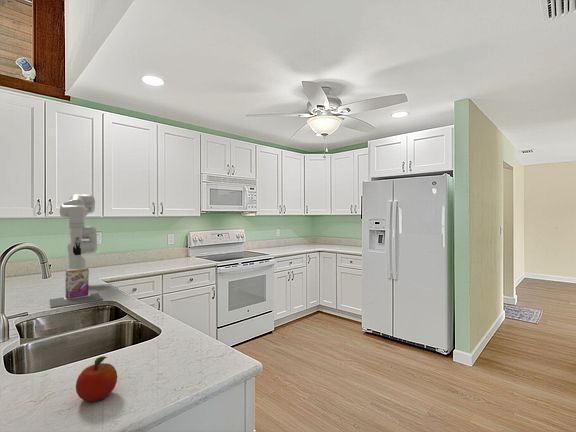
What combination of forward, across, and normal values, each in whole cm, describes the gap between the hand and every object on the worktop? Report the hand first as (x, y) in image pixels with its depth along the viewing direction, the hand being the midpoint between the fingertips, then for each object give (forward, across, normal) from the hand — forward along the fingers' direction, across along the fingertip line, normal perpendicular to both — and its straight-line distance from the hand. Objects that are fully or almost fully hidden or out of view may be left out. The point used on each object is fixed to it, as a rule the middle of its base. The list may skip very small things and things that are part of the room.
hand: (76, 254), depth 185 cm
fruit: (+25, +129, -5) cm, 131 cm away
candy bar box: (+26, +1, 0) cm, 26 cm away
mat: (+26, +9, -1) cm, 27 cm away
